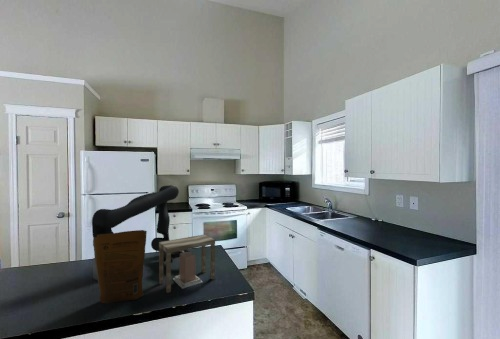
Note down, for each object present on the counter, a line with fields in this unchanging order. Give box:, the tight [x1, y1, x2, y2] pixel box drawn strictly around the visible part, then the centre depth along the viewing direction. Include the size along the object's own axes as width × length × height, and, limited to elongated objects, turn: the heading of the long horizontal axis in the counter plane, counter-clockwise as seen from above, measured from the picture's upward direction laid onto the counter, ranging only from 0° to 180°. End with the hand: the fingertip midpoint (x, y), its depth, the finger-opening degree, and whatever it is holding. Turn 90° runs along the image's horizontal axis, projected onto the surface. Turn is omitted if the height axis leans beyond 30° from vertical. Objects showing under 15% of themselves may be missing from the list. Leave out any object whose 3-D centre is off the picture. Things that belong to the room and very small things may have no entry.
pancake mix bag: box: [92, 229, 148, 304], centre depth 100 cm, size 7×19×28 cm, turn 106°
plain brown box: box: [179, 251, 196, 283], centre depth 117 cm, size 7×5×12 cm
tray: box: [172, 274, 204, 289], centre depth 117 cm, size 12×10×2 cm
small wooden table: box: [158, 234, 216, 294], centre depth 117 cm, size 12×23×19 cm, turn 127°
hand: (180, 258), depth 124 cm, fingers open, 8 cm apart
